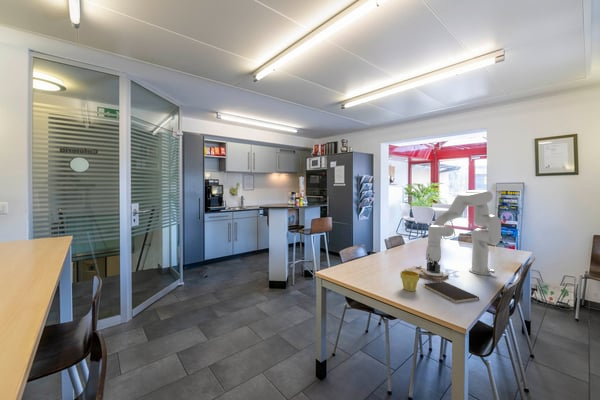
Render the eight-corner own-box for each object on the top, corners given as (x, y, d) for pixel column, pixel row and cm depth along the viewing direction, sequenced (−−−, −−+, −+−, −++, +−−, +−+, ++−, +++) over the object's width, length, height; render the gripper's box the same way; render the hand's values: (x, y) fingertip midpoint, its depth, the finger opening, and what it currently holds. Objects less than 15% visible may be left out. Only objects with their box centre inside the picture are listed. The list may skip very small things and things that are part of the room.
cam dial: (446, 274, 171) (446, 264, 170) (438, 278, 164) (438, 267, 163) (424, 268, 183) (424, 259, 182) (415, 271, 176) (416, 262, 175)
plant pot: (397, 285, 156) (397, 270, 156) (414, 285, 156) (414, 270, 156) (403, 292, 146) (404, 275, 145) (422, 292, 146) (422, 276, 145)
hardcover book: (455, 304, 133) (455, 299, 133) (423, 287, 155) (423, 283, 155) (479, 300, 137) (479, 296, 137) (444, 285, 159) (444, 281, 159)
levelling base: (448, 277, 171) (448, 272, 171) (439, 282, 162) (439, 276, 162) (414, 268, 190) (414, 263, 190) (404, 272, 181) (404, 267, 181)
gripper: (436, 241, 178) (435, 267, 179) (421, 243, 171) (420, 270, 171) (447, 243, 171) (446, 270, 172) (431, 246, 164) (430, 273, 165)
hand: (433, 270), depth 172 cm, fingers closed on cam dial, 2 cm apart
